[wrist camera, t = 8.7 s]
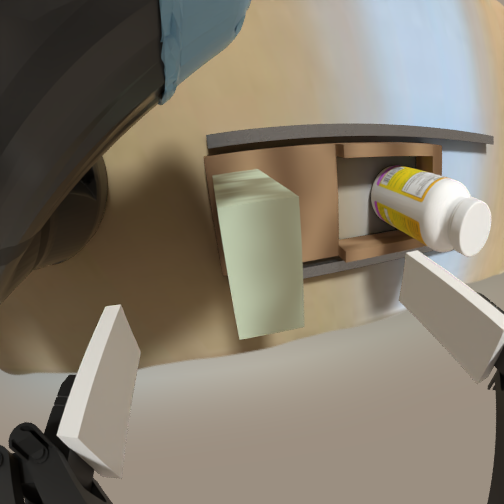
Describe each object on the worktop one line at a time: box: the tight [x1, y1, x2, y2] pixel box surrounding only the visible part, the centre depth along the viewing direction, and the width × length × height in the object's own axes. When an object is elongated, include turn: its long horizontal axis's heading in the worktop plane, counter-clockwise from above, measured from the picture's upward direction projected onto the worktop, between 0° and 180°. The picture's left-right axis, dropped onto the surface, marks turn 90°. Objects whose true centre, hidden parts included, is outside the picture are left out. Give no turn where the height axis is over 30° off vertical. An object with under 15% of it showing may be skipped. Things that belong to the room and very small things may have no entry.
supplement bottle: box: [371, 165, 491, 257], centre depth 23 cm, size 7×7×13 cm
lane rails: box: [206, 124, 493, 291], centre depth 28 cm, size 38×15×2 cm, turn 97°
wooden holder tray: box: [204, 142, 442, 340], centre depth 22 cm, size 24×11×13 cm, turn 97°
